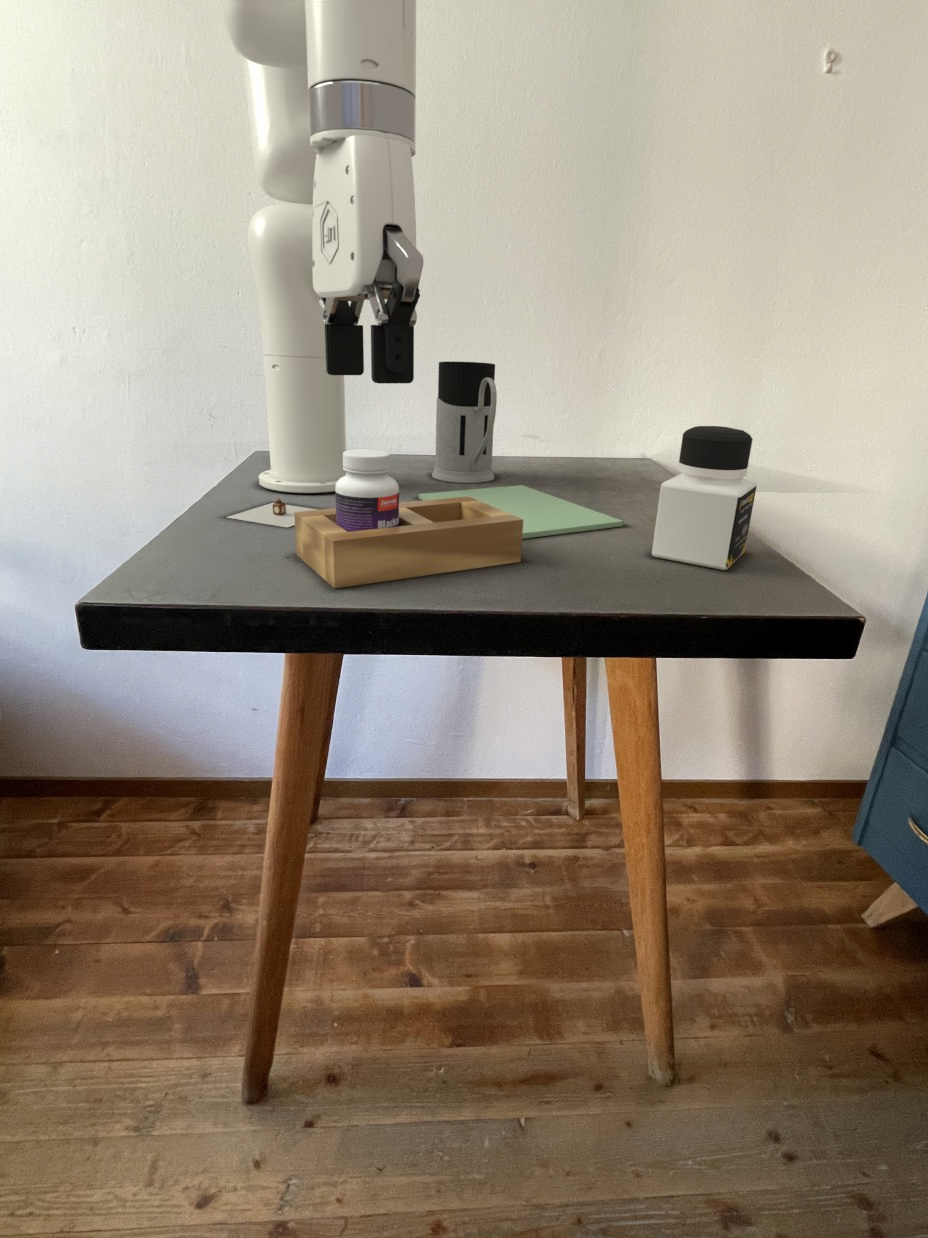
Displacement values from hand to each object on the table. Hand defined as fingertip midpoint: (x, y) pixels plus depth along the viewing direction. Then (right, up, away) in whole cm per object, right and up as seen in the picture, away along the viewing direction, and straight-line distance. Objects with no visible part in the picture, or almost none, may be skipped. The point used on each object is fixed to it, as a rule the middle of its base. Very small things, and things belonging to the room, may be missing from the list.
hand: (367, 378), depth 59 cm
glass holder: (+9, 0, +42) cm, 43 cm away
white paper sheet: (-12, -8, +21) cm, 26 cm away
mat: (+14, -7, +26) cm, 30 cm away
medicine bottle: (+30, -13, +12) cm, 35 cm away
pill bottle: (-1, -15, +6) cm, 16 cm away
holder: (+3, -14, +8) cm, 16 cm away
